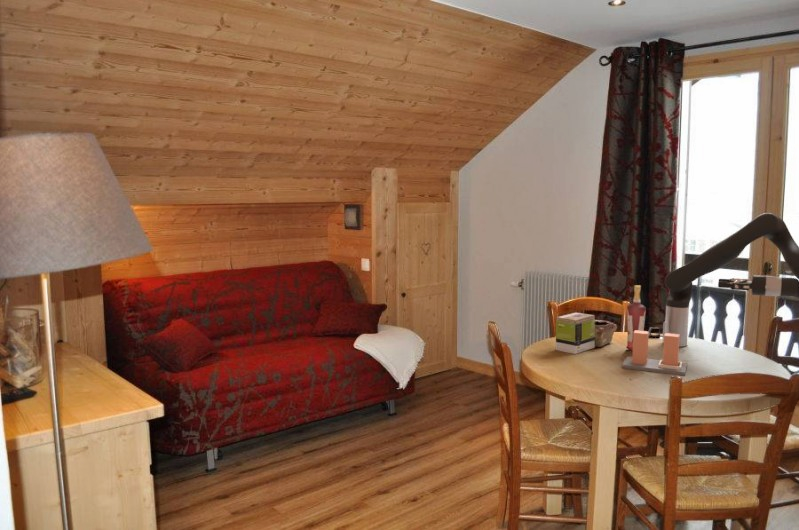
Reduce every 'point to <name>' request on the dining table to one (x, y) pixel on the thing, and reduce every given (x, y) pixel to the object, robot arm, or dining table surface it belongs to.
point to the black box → (655, 330)
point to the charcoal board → (642, 363)
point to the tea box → (575, 332)
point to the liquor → (635, 317)
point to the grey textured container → (603, 332)
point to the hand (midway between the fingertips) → (718, 282)
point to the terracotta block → (671, 349)
